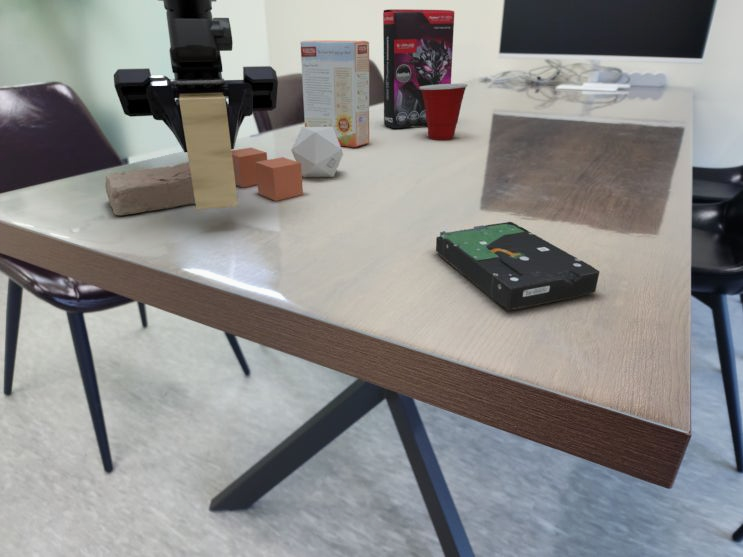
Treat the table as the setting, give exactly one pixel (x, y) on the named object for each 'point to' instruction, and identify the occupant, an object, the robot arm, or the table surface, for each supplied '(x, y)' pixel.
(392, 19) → the graphics card box
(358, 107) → the cracker box
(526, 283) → the disk drive
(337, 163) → the die
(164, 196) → the brick
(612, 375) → the table surface
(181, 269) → the table surface
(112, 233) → the table surface
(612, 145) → the table surface
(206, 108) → the maple block
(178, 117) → the robot arm
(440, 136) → the plastic cup
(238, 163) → the cube far
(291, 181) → the cube mid
